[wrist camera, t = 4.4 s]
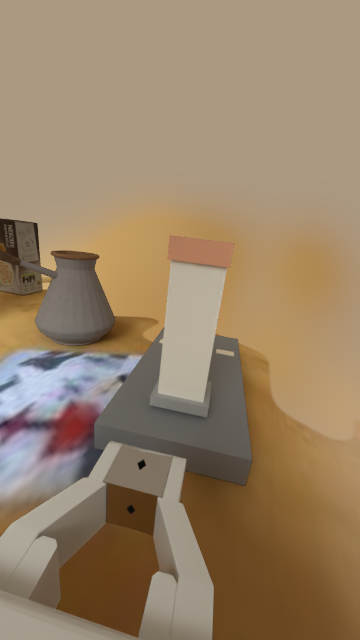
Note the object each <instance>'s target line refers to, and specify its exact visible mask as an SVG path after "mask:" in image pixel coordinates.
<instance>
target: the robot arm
mask: <svg viewBox="0 0 360 640" xmlns="http://www.w3.org/2000/svg"><path fill="white" fill-rule="evenodd" d="M186 460H187V459H185V458H181V457H176V456H173V455H168V454H164V453H159V452H155V451H151V450H145V449H141V448H138V447H134V446H130V445H127V444H122V443H118V442H115V441H110V442H109V443H108V445H107V446H106V448H105V450H104V451H103V453H102V455H101V456H100V458H99V460H98V461H97V463H96V465H95V466H94V468H93V470H92V472H91V473H90V475H89V477H88V478H85V477H83V478H82V479H80V480H79V481H77V482H76V483H74V484H72V485H71V486H69V487H68V488H66V489H65V490H63V491H61V492H60V493H58V494H57V495H55V496H54V497H52V498H50V499H49V500H47V501H46V502H44V503H43V504H41V505H40V506H38V507H36V508H35V509H33V510H32V511H30V512H29V513H27V514H25V515H24V516H22V517H21V518H19V519H18V520H16V521H14V522H13V523H11V524H10V526H9V527H8V528H7V530H6V531H5V532H4V533H3V535H2V536H1V537H0V640H212V628H213V600H214V586H213V583H212V580H211V578H210V575H209V572H208V569H207V567H206V564H205V561H204V559H203V556H202V553H201V551H200V548H199V545H198V543H197V540H196V537H195V535H194V532H193V529H192V526H191V524H190V521H189V518H188V516H187V513H186V510H185V508H184V505H183V504H182V503H180V499H181V492H182V486H183V480H184V473H185V467H186ZM106 522H107V523H111V524H115V525H119V526H123V527H127V528H131V529H134V530H137V531H140V532H143V533H146V534H149V535H152V536H153V539H154V545H155V550H156V555H157V560H158V565H159V570H160V572H159V571H158V572H156V573H155V574H154V575H153V576H152V580H151V584H150V588H149V593H148V597H147V601H146V606H145V610H144V614H143V618H142V623H141V627H140V631H139V635H138V638H137V637H135V636H132V635H129V634H126V633H123V632H120V631H117V630H115V629H112V628H109V627H106V626H103V625H100V624H97V623H95V622H92V621H89V620H86V619H83V618H80V617H78V616H75V615H72V614H69V613H66V612H63V611H60V610H58V609H56V608H57V606H58V603H59V601H60V599H61V590H60V576H59V569H60V568H61V567H62V566H63V565H64V564H65V563H66V562H67V561H68V560H69V559H70V558H71V557H72V556H73V555H74V554H75V553H76V552H77V551H78V550H79V549H80V548H82V547H83V546H84V545H85V544H86V543H87V542H88V541H89V540H90V539H91V538H92V537H93V536H94V535H95V534H96V533H97V532H98V531H99V530H100V529H101V528H102V527H103V526H104V525H105V524H106Z"/></svg>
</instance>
